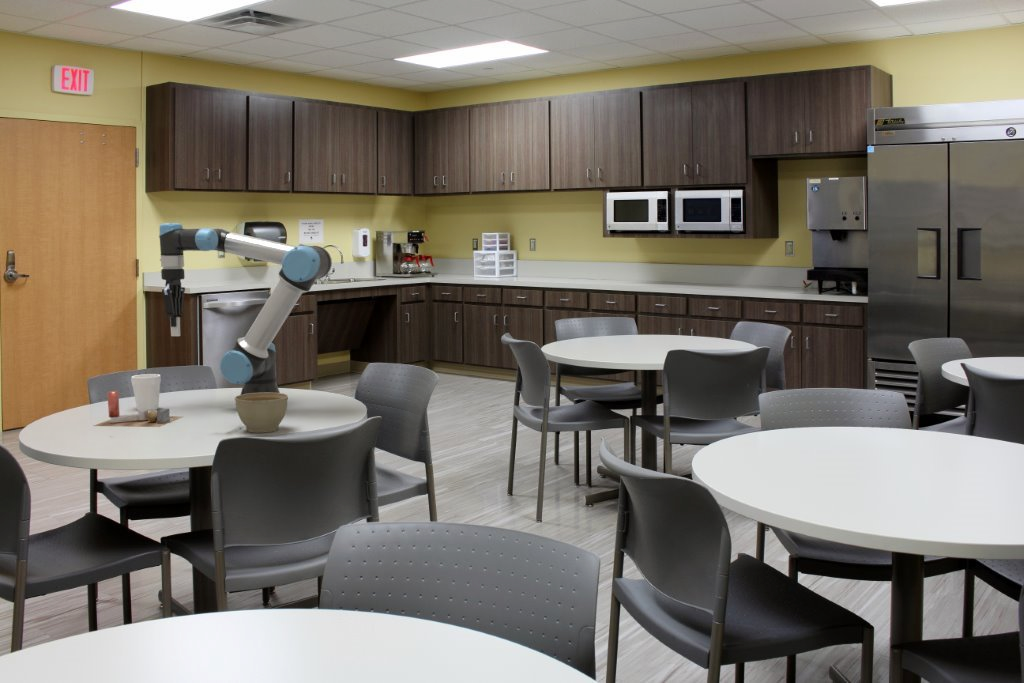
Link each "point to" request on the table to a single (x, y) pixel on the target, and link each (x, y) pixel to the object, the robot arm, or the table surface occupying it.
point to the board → (137, 422)
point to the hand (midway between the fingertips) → (175, 335)
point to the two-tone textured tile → (163, 416)
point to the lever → (114, 410)
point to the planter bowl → (261, 410)
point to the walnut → (152, 416)
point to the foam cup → (146, 391)
